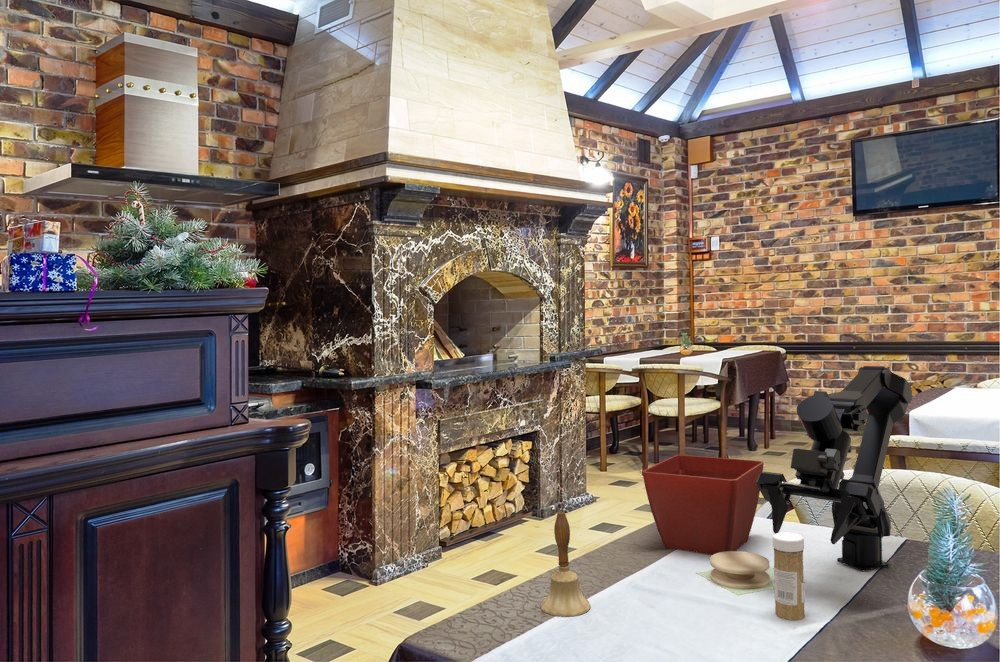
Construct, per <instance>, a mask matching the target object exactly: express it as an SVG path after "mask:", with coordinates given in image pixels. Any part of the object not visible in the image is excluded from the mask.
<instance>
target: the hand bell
mask: <svg viewBox="0 0 1000 662" xmlns="http://www.w3.org/2000/svg"><path fill="white" fill-rule="evenodd" d="M556 513H557V514H556V518H555V522H554V528H553V532H554V539H555V542H556V546H557V551H558V571H556V572H554V573H552V574H551V576H550V586H549V591H548V594H547V595H546V597H545V598H544V600H542V602H541V604H540V609H541V611H542V612H543V613H545V614H548V615H549V616H552V617H560V616H561V618H563V617H564V618H567V617H568V618H569V617H570V616H571V617H577V616H580V615H584V614H586V613H587V612H589V611H590V610H591V603H590V601H589V600H588V599H587V598H586V597H585V596H584V594H583V592H582V589H581V587H580V582H579V577H578V574H577V573H576V572H574V571H571V570H570V563H569V553H568V551H569V544H570V540H571V529H570V528H571V527H570V524H569V521H568V518H567V515H566V512H565V511H557V512H556Z"/></svg>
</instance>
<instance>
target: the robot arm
mask: <svg viewBox="0 0 1000 662" xmlns="http://www.w3.org/2000/svg"><path fill="white" fill-rule="evenodd" d="M813 392H814V393H813V395H811V396H808V397H806V398H803V400H802V401H801V402H800V403H798V404H797V406H796V414H797V416H798V418H799V420H800V422H801V425H802V426H803V429H804V430H805V433H806V435H807V437H808V438H810V439H811V440H812V445H811V448H810V449H803V448H793V449H792V456H791V461H790V469H793V470H795V471H796V472H795V477H796V479H797V480H800V482H799V483H798V482H797V483H795V482H789V481H787V479H786V477H785V475H784V474H783V473H779V472H773V471H772V472H771V471H763V472H762V473H760V474H759V475H758V478H757V481H756V484H757V486H758V488H759V490H760V493H761V495H762V497H763V499H764V500H765V501H767V502H768V503H769V505H771V516H772V518H771V519H772V520H771V521H772V531H773V533H774V534H776V533H780V530H781V528H782V526H783V523H784V520H785V518H786V514H787V511H788V509H789V505H788V502H789V501H790V498H791V496H796V497H797V496H798V497H805V498H810V499H815V500H822V501H830V502H832V503H831V513H832V520H833V528H832V532H831V535H830V536H831V537H830V543H831V545H835V544H837V542H839V541H840V540H841V554H842V555H841V557H837V558H836V560H837V562H839V563H842V564H844V565H846V566H849V567H851V568H855V569H857V570H859V571H862V572H863V571H864V572H865V571H869V570H876V569H882V568H886V567H887V568H888V567H889V566H890V563H889V562H887V561H884V560H883V547H882V546H883V541H882V539H883V538H884V537H890V536H891V528H892V525H891V523H892V521H891V518H890V516H889V513H888V511H887V509H886V506H885V501H884V499H883V497H882V495H881V491H880V490H879V486H880V481H881V477H882V473H883V470H884V465H885V461H886V456H887V452H888V448H889V443H890V439H891V435H892V431H893V427H894V424H895V423H896V422H898V421H899V420H900V419H901V418H902V417H904V416H905V415H906V414H907V413H906V412H907V409H908V406H909V404H911V403H912V400H913V390H912V387H911V385H910V384H909V381H908V380H907V378H904V377H902V376H901V375H898V374H896V373H894V372H892V371H891V369H890V368H889V367H886V366H884V365H864V366H860V367H859V369H858V371H857V374H856V375H855V376H854V377H853V379H851V380H850V381H849V382H848V384H846V385H845V387H844V388H843V389H842V390H841V391H837V392H833V393H832V392H831V393H828V392H827V391H825V390H814V391H813ZM863 426H864V429H863V433H862V435H861V436H862V437H861V441H860V445H859V449H858V453H857V457H856V462H855V464H854V468H853V472H852V476H851V477H850V478H848V479H846V478H845V473H844V468H845V464H846V460H847V457H848V454H850V453H852V445H851V443H852V439H851V437H850V434H849V433H848V432H847V431H850V432H859V431H860V430H861V429H862V428H863Z"/></svg>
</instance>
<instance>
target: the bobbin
mask: <svg viewBox="0 0 1000 662" xmlns="http://www.w3.org/2000/svg"><path fill="white" fill-rule="evenodd" d="M709 561H710V562H709V564H710V566H711V567H712V568H713V569H710V570H711V572H710V578H711V580H712V581H713V582H714V583H713V582H712V581H711V582H712V583H713V584H715V583H716V585H717V584H718V585H717V586H719V585H721V586H724V587H727V588H733V589H744V590H749V589H759V588H763V587H765V586H767V585H768V584H769V583H770V576H769V574H768V573H766V572H765V571H767V570H768V569H769V567H771V565H770V564H771V563H770V560H769V558H767V557H766V556H764V555H761V554H758V553H754V552H748V551H740V550H738V551H737V550H736V551H726V552H720V553H716V554H714V555H711V556H710V558H709ZM721 586H720V587H721Z"/></svg>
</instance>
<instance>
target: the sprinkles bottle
mask: <svg viewBox="0 0 1000 662" xmlns="http://www.w3.org/2000/svg"><path fill="white" fill-rule="evenodd" d="M772 547H773V554H774V555H773V561H774V563H773V568H774V582H773V583H774V603H775V606H774V608H775V611H774V612H775V615H776V617H778V618H779V619H780V618H781V619H782V620H786V621H802V620H803V619H805V617H806V616H805V583H804V582H805V581H804V577H805V576H804V549H805V538H804V537H803V536H802V535H801V534H799V533H796V532H789V531H788V532H786V531H785V532H778V533H776V534H775V533H774V534H773V535H772Z"/></svg>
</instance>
